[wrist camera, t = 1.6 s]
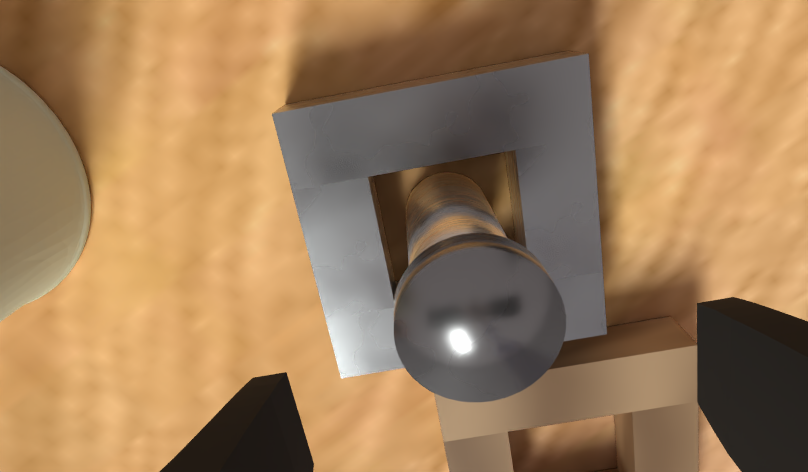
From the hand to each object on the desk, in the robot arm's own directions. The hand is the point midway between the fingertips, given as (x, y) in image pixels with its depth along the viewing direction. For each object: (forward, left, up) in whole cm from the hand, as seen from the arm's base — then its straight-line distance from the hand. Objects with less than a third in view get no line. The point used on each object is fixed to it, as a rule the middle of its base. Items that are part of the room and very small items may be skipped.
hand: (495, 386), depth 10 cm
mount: (0, 0, -10) cm, 10 cm away
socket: (-3, +10, -10) cm, 14 cm away
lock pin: (0, 0, -10) cm, 10 cm away
